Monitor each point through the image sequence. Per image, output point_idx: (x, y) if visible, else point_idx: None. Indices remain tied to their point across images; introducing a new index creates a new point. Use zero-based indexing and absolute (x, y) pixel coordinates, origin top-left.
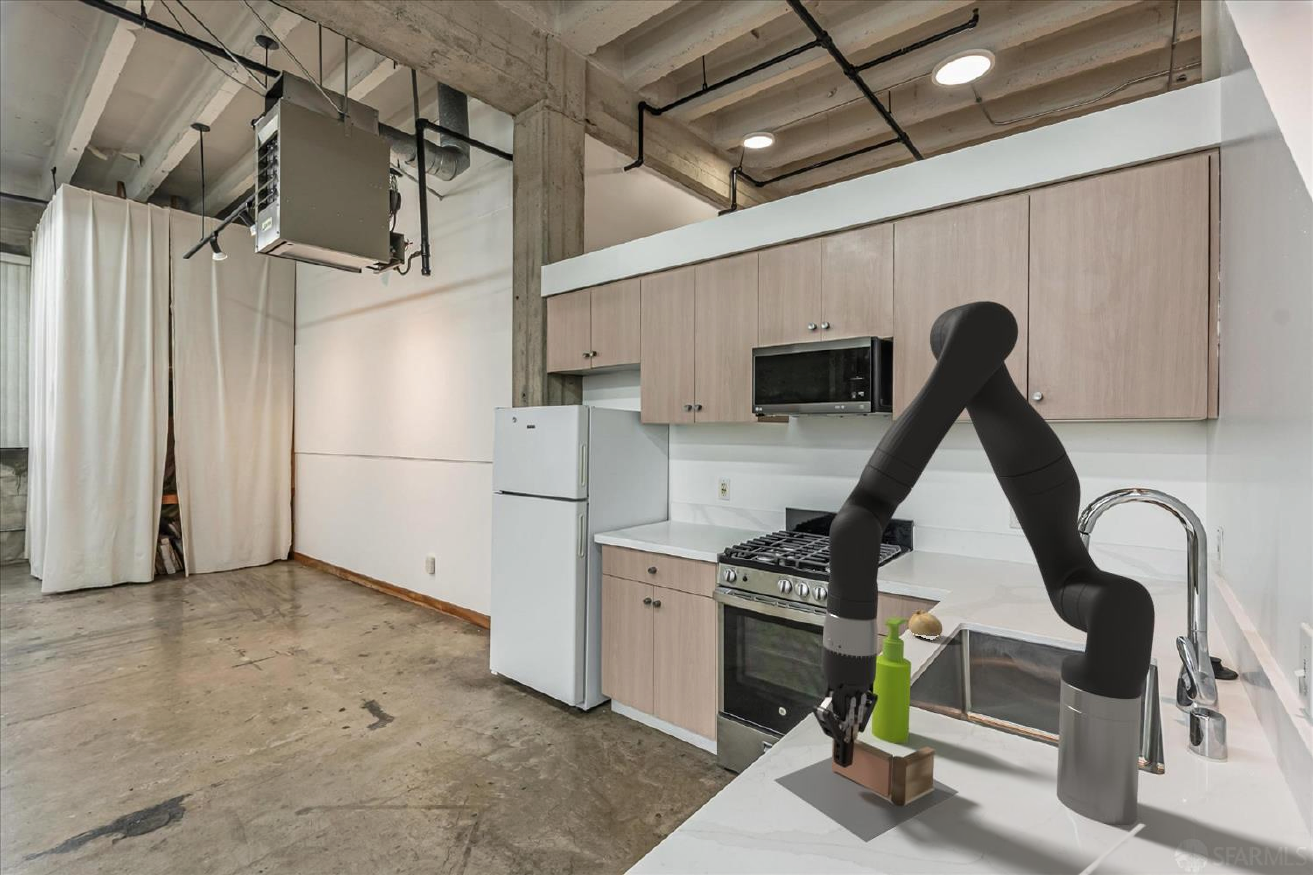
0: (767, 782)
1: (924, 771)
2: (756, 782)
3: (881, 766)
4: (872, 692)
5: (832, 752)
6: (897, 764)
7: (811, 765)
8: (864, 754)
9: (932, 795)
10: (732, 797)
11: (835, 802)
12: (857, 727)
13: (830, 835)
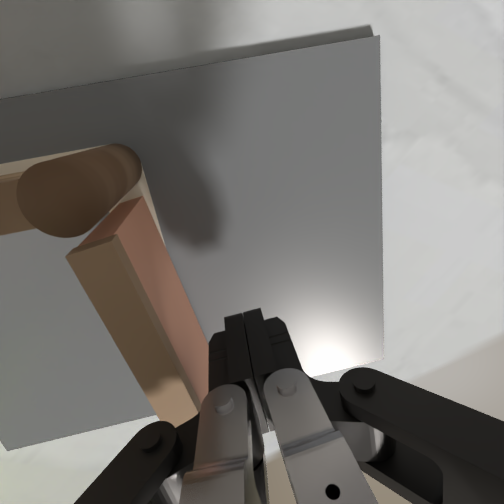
0: (392, 358)
1: None
2: (414, 363)
3: (138, 252)
4: None
5: None
6: (97, 179)
7: None
8: (169, 331)
9: None
10: (500, 329)
11: (313, 234)
12: (206, 445)
13: (426, 122)
